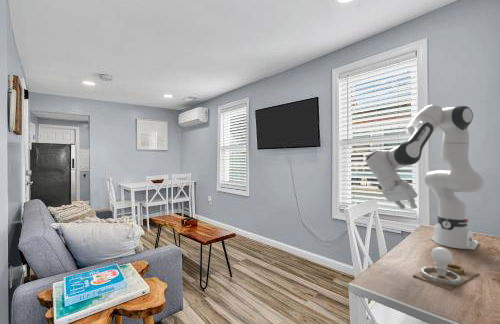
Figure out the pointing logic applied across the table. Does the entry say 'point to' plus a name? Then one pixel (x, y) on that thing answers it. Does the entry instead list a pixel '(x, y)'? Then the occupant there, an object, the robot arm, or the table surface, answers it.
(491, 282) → the table surface
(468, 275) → the socket board
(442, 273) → the lightbulb
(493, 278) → the table surface
